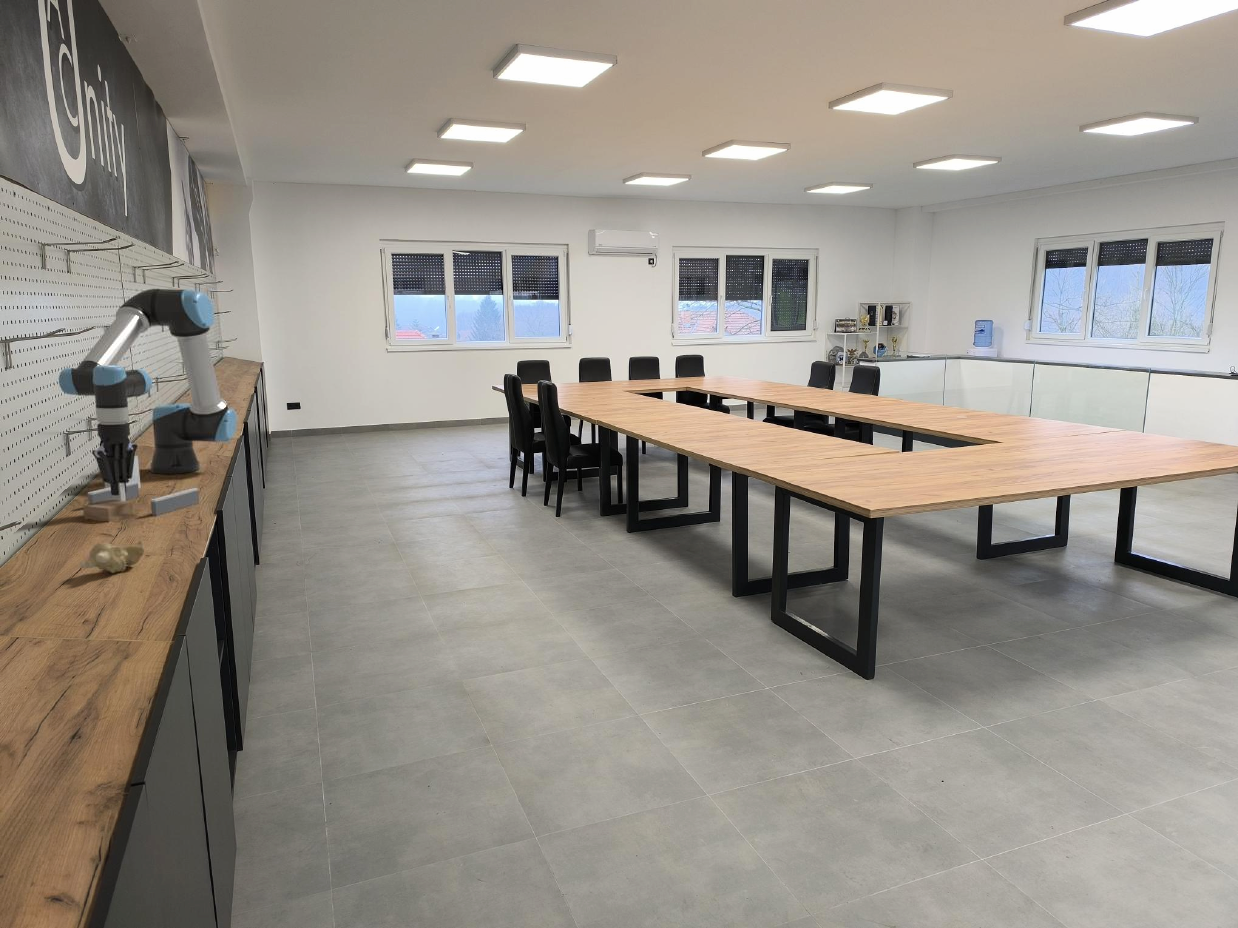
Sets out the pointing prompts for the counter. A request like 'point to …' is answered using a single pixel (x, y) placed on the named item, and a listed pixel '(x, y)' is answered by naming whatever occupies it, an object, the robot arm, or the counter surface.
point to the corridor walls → (157, 504)
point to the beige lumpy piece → (113, 556)
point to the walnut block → (108, 510)
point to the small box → (134, 476)
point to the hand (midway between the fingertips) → (119, 505)
